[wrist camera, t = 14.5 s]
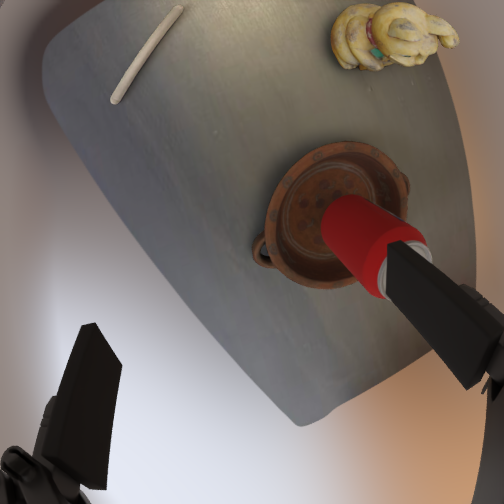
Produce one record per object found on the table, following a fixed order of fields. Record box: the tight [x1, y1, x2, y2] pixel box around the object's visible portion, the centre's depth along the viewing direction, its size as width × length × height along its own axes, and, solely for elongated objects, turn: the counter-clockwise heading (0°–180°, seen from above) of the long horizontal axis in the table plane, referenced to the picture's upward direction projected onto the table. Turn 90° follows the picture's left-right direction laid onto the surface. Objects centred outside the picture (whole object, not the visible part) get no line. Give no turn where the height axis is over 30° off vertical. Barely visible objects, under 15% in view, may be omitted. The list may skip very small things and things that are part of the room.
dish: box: [252, 141, 410, 289], centre depth 35 cm, size 18×22×5 cm
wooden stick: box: [110, 5, 184, 104], centre depth 25 cm, size 1×13×1 cm, turn 147°
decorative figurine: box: [331, 2, 459, 71], centre depth 21 cm, size 10×8×15 cm
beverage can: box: [321, 194, 432, 301], centre depth 27 cm, size 7×7×12 cm
